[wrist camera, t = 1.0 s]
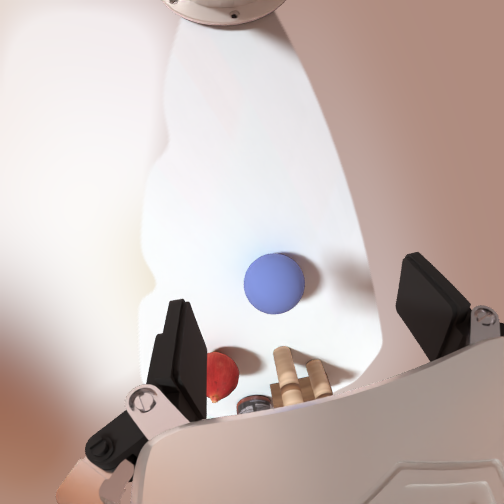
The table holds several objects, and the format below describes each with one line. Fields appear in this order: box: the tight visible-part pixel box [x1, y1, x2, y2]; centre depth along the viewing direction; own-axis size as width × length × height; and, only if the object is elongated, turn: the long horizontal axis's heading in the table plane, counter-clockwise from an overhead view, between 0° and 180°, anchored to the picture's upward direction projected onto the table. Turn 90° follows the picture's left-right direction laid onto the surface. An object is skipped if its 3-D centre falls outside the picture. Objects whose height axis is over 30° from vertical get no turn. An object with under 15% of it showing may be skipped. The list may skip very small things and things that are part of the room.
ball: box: [244, 254, 305, 314], centre depth 28 cm, size 6×6×6 cm
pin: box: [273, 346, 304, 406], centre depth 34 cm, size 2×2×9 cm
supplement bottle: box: [237, 395, 272, 415], centre depth 39 cm, size 6×6×11 cm
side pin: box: [306, 359, 333, 399], centre depth 36 cm, size 2×2×9 cm
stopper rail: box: [270, 373, 333, 408], centre depth 40 cm, size 2×9×4 cm, turn 99°
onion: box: [207, 352, 239, 403], centre depth 33 cm, size 6×6×8 cm
